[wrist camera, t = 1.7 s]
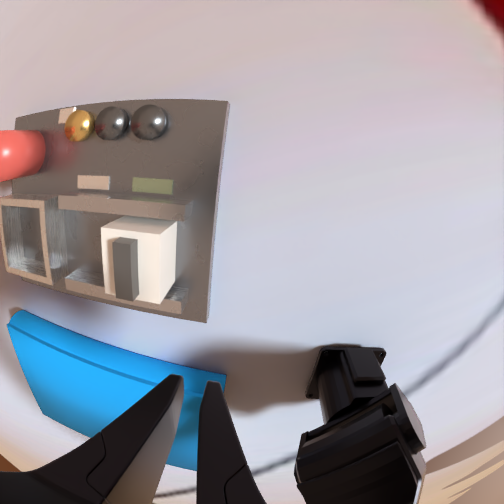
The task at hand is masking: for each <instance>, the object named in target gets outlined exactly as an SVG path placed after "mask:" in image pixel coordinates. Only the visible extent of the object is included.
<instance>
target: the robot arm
mask: <svg viewBox="0 0 504 504" xmlns="http://www.w3.org/2000/svg"><path fill="white" fill-rule="evenodd" d="M327 351H328V352H327ZM324 352H327V353H324ZM381 353H382V354H381ZM379 354H380V355H379ZM385 356H386V351H385V350H384V349H383V348H354V347H328V346H327V347H323V348H322V349H321V350H320V353H319V356H318V359H317V362H316V365H315V367H314V370H313V373H312V376H311V379H310V382H309V384H308V387H307V390H306V392H305V394H306V397H307V398H309V399H319V400H320V405H321V410H322V416H323V421H324V425H323V426H320V427H318V428H316V429H314V430H312V431H310V432H308V431H307V432H305V433H303V434H302V435H301V440H300V445H299V449H298V454H297V458H296V463H295V468H294V476H295V479H296V482H297V488H298V489H299V491H300V492H301V494H302V495H303V497H304V499H305V502H306V504H418V503H419V499H420V495H421V491H422V487H423V482H424V478H425V473H426V463H425V461H424V459H423V456H422V454H421V452H420V451H421V450H423V449H425V448H426V442H425V438H424V433H423V428H422V424H421V422H420V420H419V418H418V416H417V414H416V412H415V410H414V408H413V406H412V405H411V403H410V402H409V401H408V399H407V398H406V397H405V395H404V394H403V393H402V391H401V390H400V388H399V387H398V386H397V384H396V383H394V384H393V385H391V386H390V388H388V386H387V384H386V382H385V379H386V377H385V375H384V373H383V371H382V369H381V367H380V366H381V364H382V362H383V360H384V358H385ZM183 398H184V378H183V376H181V375H177V374H170V375H168V376H167V377H166V378H165V379H164V380H162V381H161V382H160V383H159V384H158V385H156V386H155V387H154V388H153V389H152V390H150V391H149V392H148V393H147V394H146V395H144V396H143V397H142V398H141V399H140V400H138V401H137V402H136V403H135V404H133V405H132V406H131V407H130V408H129V409H127V410H126V411H125V412H124V413H122V414H121V415H120V416H119V417H117V418H116V419H115V420H114V421H112V422H111V423H110V424H109V425H107V426H106V427H105V428H103V429H102V430H101V432H98V433H97V434H96V435H94V436H93V437H92V438H90V439H89V440H88V441H86V442H85V443H83V444H82V445H80V446H79V447H77V448H76V449H74V450H72V451H70V452H69V453H67V454H65V455H63V456H62V457H60V458H58V459H56V460H54V461H52V462H50V463H48V464H46V465H44V466H42V467H40V468H38V469H35V470H32V471H27V472H2V471H0V504H152V501H153V498H154V495H155V493H156V490H157V487H158V484H159V481H160V478H161V475H162V473H163V470H164V467H165V464H166V461H167V458H168V456H169V453H170V450H171V447H172V444H173V442H174V439H175V435H176V431H177V427H178V422H179V417H180V412H181V407H182V403H183ZM196 504H266V502H265V500H264V499H263V497H262V495H261V493H260V491H259V490H258V488H257V485H256V483H255V481H254V479H253V476H252V474H251V471H250V469H249V466H248V465H247V461H246V458H245V456H244V453H243V450H242V447H241V445H240V442H239V439H238V436H237V433H236V430H235V427H234V424H233V421H232V418H231V415H230V412H229V409H228V406H227V403H226V400H225V397H224V393H223V390H222V387H221V384H220V382H216V381H210V380H209V381H207V383H206V386H205V390H204V394H203V397H202V401H201V404H200V409H199V424H198V449H197V501H196Z"/></svg>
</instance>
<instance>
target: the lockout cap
mask: <svg viewBox="0 0 504 504" xmlns="http://www.w3.org/2000/svg"><path fill="white" fill-rule="evenodd" d="M45 152H46V146H45V140H44V137H43V135H42V134H41V133H40V132H39V131H37V130H5V131H0V182H2V181H7V180H11V179H16V178H21V177H26V176H31V175H34V174H36V173H37V172H38V171H39V170H40V168H41V166H42V164H43V162H44V158H45Z"/></svg>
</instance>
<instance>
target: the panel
mask: <svg viewBox="0 0 504 504" xmlns="http://www.w3.org/2000/svg"><path fill="white" fill-rule="evenodd" d="M229 108H230V104H229V102H228V101H217V100H195V99H150V100H129V101H115V102H104V103H95V104H87V105H79V106H72V107H66V108H60V109H54V110H49V111H44V112H39V113H35V114H30V115H26V116H22V117H18V118H16V122H15V130H37V131H39V132H40V133H41V134H42V135H43V137H44V140H45V146H46V152H45V158H44V162H43V164H42V166H41V168H40V170H39V171H38V172H37V173H36V174H34V175H31V176H26V177H21V178H16V179H12V194H10V195H7V196H3V197H0V235H1V243H2V250H3V256H4V262H5V268H6V271H7V272H10V273H13V274H16V275H19V276H22V280H23V281H26V282H30V283H33V284H36V285H39V286H43V287H46V288H49V289H53V290H56V291H60V292H63V293H67V294H71V295H75V296H78V297H82V298H86V299H90V300H94V301H98V302H102V303H106V304H111V305H115V306H120V307H124V308H129V309H133V310H138V311H143V312H148V313H153V314H158V315H163V316H168V317H174V318H179V319H185V320H191V321H197V322H203V323H206V322H207V319H208V316H209V306H210V291H211V277H212V265H213V252H214V241H215V230H216V219H217V209H218V199H219V190H220V180H221V172H222V163H223V154H224V146H225V138H226V131H227V123H228V116H229ZM125 215H128V216H137V217H147V218H156V219H165V220H174V221H177V237H176V266H175V282H174V284H173V285H172V287H171V288H170V290H169V291H168V293H167V294H166V296H165V297H164V299H163V300H162V302H161V303H160V304H156V303H151V302H145V301H140V300H134V301H133V302H132V301H127V300H123V299H118V298H116V295H111V294H107V293H105V284H104V273H103V261H102V244H101V227H102V226H104V225H106V224H108V223H110V222H113V221H115V220H117V219H119V218H121V217H123V216H125Z"/></svg>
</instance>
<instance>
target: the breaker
mask: <svg viewBox="0 0 504 504" xmlns="http://www.w3.org/2000/svg"><path fill="white" fill-rule="evenodd" d="M176 237H177V221H174V220H165V219H156V218H147V217H137V216H128V215H125V216H123V217H121V218H119V219H117V220H115V221H113V222H110V223H108V224H106V225H104V226H102V227H101V244H102V261H103V273H104V284H105V293H107V294H111V295H116V298H118V299H123V300H127V301H132V302H133V301H134V300H140V301H145V302H151V303H156V304H160V303H161V302H162V300H163V299H164V297H165V296H166V294H167V293H168V291H169V290H170V288H171V287H172V285H173V284H174V282H175V266H176Z"/></svg>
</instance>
